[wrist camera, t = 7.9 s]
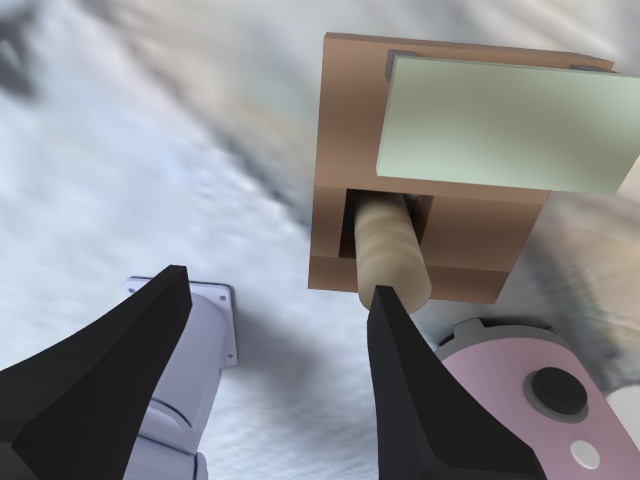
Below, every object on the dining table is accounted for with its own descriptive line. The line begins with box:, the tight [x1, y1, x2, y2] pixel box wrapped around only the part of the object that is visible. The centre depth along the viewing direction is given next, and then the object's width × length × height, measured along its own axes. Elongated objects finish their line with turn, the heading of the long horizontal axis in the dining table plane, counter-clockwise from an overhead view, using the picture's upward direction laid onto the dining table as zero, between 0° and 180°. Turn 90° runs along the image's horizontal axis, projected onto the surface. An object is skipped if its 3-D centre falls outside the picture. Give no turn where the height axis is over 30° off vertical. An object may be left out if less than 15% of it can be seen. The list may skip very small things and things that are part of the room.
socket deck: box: [308, 32, 640, 304], centre depth 18 cm, size 14×12×7 cm
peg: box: [353, 189, 431, 314], centre depth 19 cm, size 3×3×8 cm
